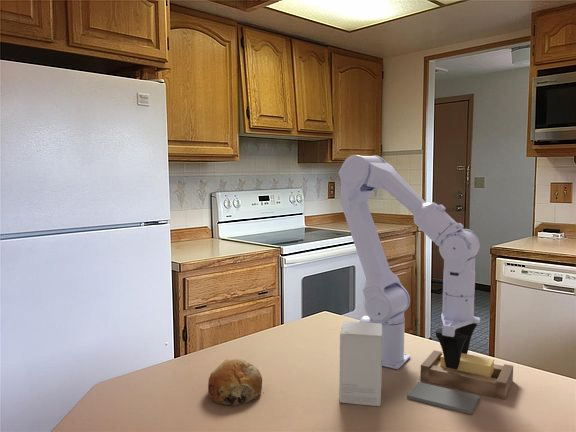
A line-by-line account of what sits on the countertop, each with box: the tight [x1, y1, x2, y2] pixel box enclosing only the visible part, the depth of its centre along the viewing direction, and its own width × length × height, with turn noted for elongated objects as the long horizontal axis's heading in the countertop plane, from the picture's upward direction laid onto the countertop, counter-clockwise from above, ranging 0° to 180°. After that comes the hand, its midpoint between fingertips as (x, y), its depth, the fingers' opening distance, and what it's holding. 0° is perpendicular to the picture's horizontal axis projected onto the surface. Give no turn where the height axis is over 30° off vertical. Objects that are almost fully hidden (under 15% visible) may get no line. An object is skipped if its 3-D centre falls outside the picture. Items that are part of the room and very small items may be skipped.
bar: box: [440, 353, 495, 377], centre depth 94 cm, size 9×4×2 cm, turn 58°
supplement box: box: [338, 321, 383, 407], centre depth 88 cm, size 7×7×13 cm
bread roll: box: [207, 358, 263, 406], centre depth 90 cm, size 10×10×8 cm
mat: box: [406, 381, 480, 416], centre depth 87 cm, size 11×6×1 cm, turn 58°
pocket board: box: [419, 350, 514, 400], centre depth 94 cm, size 15×9×3 cm, turn 58°
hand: (456, 361), depth 95 cm, fingers open, 6 cm apart
